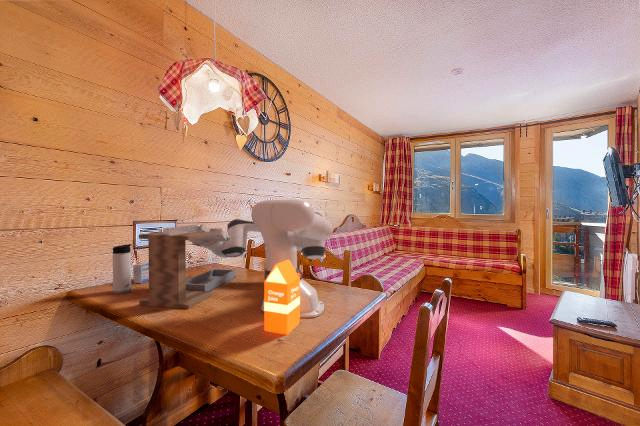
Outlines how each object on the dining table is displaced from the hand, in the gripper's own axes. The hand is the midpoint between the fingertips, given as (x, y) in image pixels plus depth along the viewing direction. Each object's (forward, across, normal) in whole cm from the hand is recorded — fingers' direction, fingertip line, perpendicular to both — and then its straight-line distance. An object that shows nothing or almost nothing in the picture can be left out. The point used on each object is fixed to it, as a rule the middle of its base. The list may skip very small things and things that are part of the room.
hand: (196, 226), depth 119 cm
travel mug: (-8, +30, -28) cm, 41 cm away
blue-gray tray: (-23, 0, -19) cm, 29 cm away
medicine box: (-22, +34, -20) cm, 45 cm away
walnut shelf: (-3, 0, -30) cm, 30 cm away
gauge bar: (+5, 0, -5) cm, 7 cm away
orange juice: (+10, -47, -38) cm, 61 cm away
